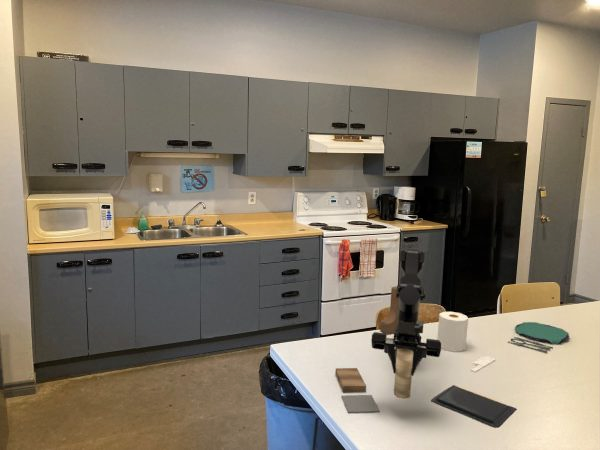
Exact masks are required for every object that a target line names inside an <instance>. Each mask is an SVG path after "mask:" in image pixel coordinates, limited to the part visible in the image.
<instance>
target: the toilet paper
mask: <svg viewBox="0 0 600 450" xmlns="http://www.w3.org/2000/svg"><path fill="white" fill-rule="evenodd" d="M437 325H438V326H437V327H438V328H437V338H436V340H439V341H440V342H441V350H444V351H448V352H453V353H457V352H464V351H465V350H466V349H467V337H468V326H469V317H468V316H467V315H465V314H463V313H461V312H454V311H442V312H440V313H439V314H438V324H437Z"/></svg>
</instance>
